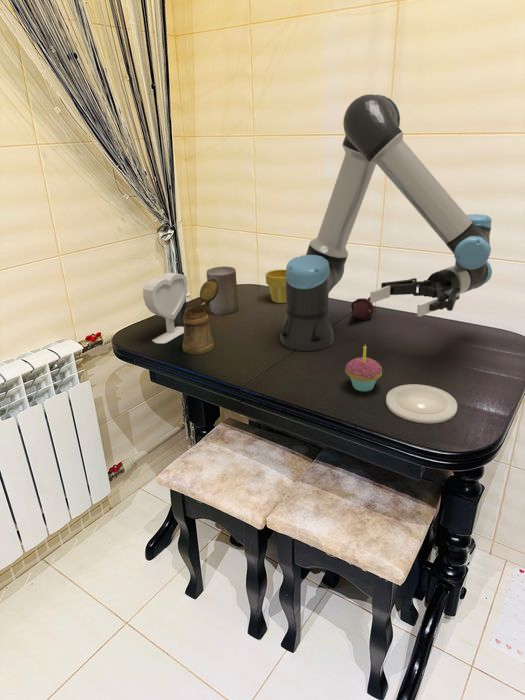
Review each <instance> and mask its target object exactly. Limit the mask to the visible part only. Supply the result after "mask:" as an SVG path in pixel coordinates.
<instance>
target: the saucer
mask: <svg viewBox="0 0 525 700" xmlns="http://www.w3.org/2000/svg"><path fill="white" fill-rule="evenodd" d="M385 405H386V406H387V409H388V410H389V411H390V412H391V413H393V415H396V416H397V417H399V418H401V419H403V420H406V421H409V422H413V423H417V424H418V423H419V424H430V425H431V424H440V423H445V422H447V421H450V420H451V419H452V418H454V417H455V416H456V414H457V412H458V411H457V410H458V402H457V401H456V399H455V397H453V396H452V395H451V394H450V393H449V392H447V391H445V390H442V389H440V388H438V387H435V386H431V385H425V384H417V383H416V384H415V383H414V384H411V383H410V384H404V385H403V384H402V385H399V386H395V387H394V388H392V389H390V390H389V391H388V392H387V393H386V399H385Z"/></svg>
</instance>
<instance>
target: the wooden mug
mask: <svg viewBox="0 0 525 700" xmlns="http://www.w3.org/2000/svg"><path fill="white" fill-rule="evenodd" d="M218 289H219V286H218V283H217V281H216V280H215V279H214V278H213V279H210V280H208V281H205V282H204V283H203V284H202V286H201V287H200V291H199V297H200V300H201V301H200V304H199V307H195V306H194V307H189V308H185V309H184V313H183V316H182V317H183V318H182V319H183V320H182V323H183V327H184V333H183V341H182V346H181V347H182V351H183V352H184V353H186V354H189V355H202V354H207V353H209V352H211V351H212V350H213V349H214V348H215V342H214V339H213V337H212V333H211V328H210V322H211V318H212V317H211V316H212V312H211V307H210V304H209V303H210V302H211V301H212V300H213V299H214V298H215V297H216V296H217V293H218Z"/></svg>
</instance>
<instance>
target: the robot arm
mask: <svg viewBox="0 0 525 700" xmlns="http://www.w3.org/2000/svg"><path fill="white" fill-rule="evenodd" d="M342 122H343V124H342V126H343V130H344V133H345V135H344V136H345V137H344V139H343V142H342V147H343V150H344V157H343V160H342V162H341V166H340V169H339V172H338V175H337V177H336V181H335V183H334V186H333V190H332V192H331V195H330V198H329V201H328V204H327V207H326V210H325V213H324V216H323V218H322V222H321V225H320V228H319V231H318V233H317V237H315V238H313V239H312V240H310V242H309V245H308V247H307V250H306V253H305V254H304V255H300V256H296V257H293V258H292V259H290V260H289V261H288V262H287V264H286V268H285V270H286V275H285V277H286V303H285V307H286V308H285V309H286V312H285V313H286V315H285V317H284V322H283V324H282V327H281V330H280V335H279V336H280V340H279V341H280V342H281V345H283V346H284V347H286V348H288V349H291V350H295V351H301V352H313V351H320V350H324V349H326V348H328V347H330V346H331V345H332V344H334V331H333V330H334V329H333V327H332V324H331V321H330V318H329V293H331V292H332V290H333V289H334V287H336V286H337V284H338V283H339V282H340V281H342V280H341V279H342V278H343V275H344V272H345V264H346V262H347V259H348V256H349V251H348V250H347V244H348V241H349V238H350V237H351V236H350V235H351V233H352V230H353V229H354V225H355V223H356V219H357V217H358V214H359V212H360V210H361V207H362V204H363V201H364V199H365V196H366V194H367V193H366V192H367V191H368V187H369V184H370V182H371V179H372V176H373V174H374V171H375V170H376V165H377V166H378V167H379V168H380V169H381V171H383V173H384V175H386V177H387V178H388V179H389V180H390V181H391V182H392V183H393V185H395V187H396V188H397V189H398V190H399V191H400V193H402V195H403V196H404V197H405V199H406V200H407V201H408V202H409V204H411V205H412V206H413V208H414V209H415V210H416V211H417V212H418V214H420V216H421V217H422V218H423V220H424V221H425V222H426V223H427V224H428V225H429V226H430V227H431V229H432V230H433V231H434V232H435V233H436V234H437V236H438V237H439V238H440V239H441V241H443V242H444V244H445V245H446V247H447V248H448V249H449V250H450V251H451V253H452V254H453V257H454V258H455V263H454V265H453V266H449V267H446V268H444V269H441V270H438V271H435V272H433V273H432V274H430V275H429V276H428V278H427V279H425V280H421V281H417V278H415V277H414V278H410V279H409V278H408V279H404V280H396V281H386V282H381V283H380V285H381V286H380V288H378V289H374V290H372V291H370V294H369V295H370V296H369V297H370V303H372V304H375V303H376V302H380V301H382V300H384V299H388V298H390V297H391V296H399V295H400V296H401V295H402V296H404V295H412V296H413V297H429V298H431V299H428V300H426V301H423V302H421V303H418V304H417V310H416V316H417V317H422V316H424V315H427V314H430V313H432V312H435V311H437V310H439V311H440V310H444V309H446V310H447V311H448V312H452V311H453V310H454V307H455V304H456V301H458V300H460V295H461V294H464V293H466V292H469V291H473V290H475V289H478V288H480V287H482V286H483V285H485V284H486V283H488V282H489V281H490V280H491V278H492V274H493V269H492V266H491V264H490V262H489V261H488V260H489V258H490V256H491V251H492V247H491V244H490V243H491V241H490V240H491V239H490V235H491V230H492V218H491V216H490V215H487V214H481V213H479V214H477V213H476V214H475V213H473V214H472V213H471V214H466V213H465V212H464V210H463V209H462V208H461V207H460V206H459V205H458V204H457V202H456V201H455V200H454V199H453V197H451V195H450V194H449V193H448V192H447V191H446V189H445V188H444V187H443V186H442V185H441V184H440V182H439V181H438V180H437V178H435V176H434V175H433V174H432V173H431V172H430V170H429V169H428V168H427V167H426V166H425V164H424V163H423V162H422V161H421V159H420V158H419V157H418V156H417V155H416V154H415V152H414V151H413V150H412V149H411V148H410V147H409V145H408V144H407V143H406V142H405V141H404V139H403V137H404V131H402V129H401V128H400V125H401V115H400V110H399V108H398V106H397V104H396V103H395V102H394V101H393V100H392V99H391V98H390V97H388V96H385V95H382V94H364V95H360V96H359V97H357V98H355V99H354V100H353V101H352V102H351V103H350V104H349V106H348V107H347V108H346V110H345V113H344V117H343V121H342ZM417 288H418V292H417Z"/></svg>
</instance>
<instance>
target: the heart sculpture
mask: <svg viewBox="0 0 525 700" xmlns="http://www.w3.org/2000/svg"><path fill="white" fill-rule="evenodd" d="M142 289H143V290H142V297H143V300H144V305H145V307H146V308H147V309H148V311H149V312H151V313H152V314H154V315H155V316H159V317H162V318H164V319H165V326H166V327H165V328H166V332H164V333H163V334H160V335H159V336H157V337H155V338H153V339H152V340H151V341H152V342H153V343H155V344H167V343H168V342H170V341H172V340H174V339H175V338H177V337H178V336H181V335H182V334H184V326H175V321H174V320H175V319H176V317H177V316H178V314H179V312H180V311H181V309H182V307H183V305H184V303H185V301H186V298H187V294H188V279H187V276H186V275H185V274H182V273H177V272H176V273H175V272H167V273H164V274H162V276H161V278H160V277H159V278H158V277H154V278H152V279H150V280H149V281H148V282H147V283H146V284H145V285H144V287H143V288H142Z"/></svg>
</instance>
